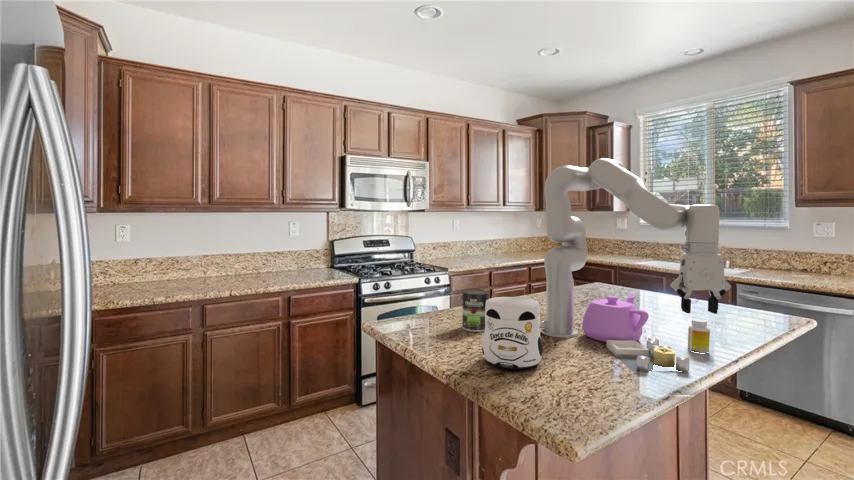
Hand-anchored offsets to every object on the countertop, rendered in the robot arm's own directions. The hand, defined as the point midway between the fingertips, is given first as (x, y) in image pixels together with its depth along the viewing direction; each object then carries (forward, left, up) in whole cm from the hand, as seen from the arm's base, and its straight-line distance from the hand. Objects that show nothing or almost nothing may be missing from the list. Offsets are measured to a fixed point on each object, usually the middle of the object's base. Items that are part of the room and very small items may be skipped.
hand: (699, 311), depth 115 cm
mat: (-13, +4, -16) cm, 20 cm away
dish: (-16, +10, -15) cm, 24 cm away
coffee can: (-61, +35, -16) cm, 72 cm away
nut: (-9, 0, -15) cm, 18 cm away
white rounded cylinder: (-52, -1, -16) cm, 54 cm away
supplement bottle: (+7, +12, -16) cm, 21 cm away
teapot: (-14, +25, -16) cm, 33 cm away
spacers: (-12, +4, -16) cm, 20 cm away
